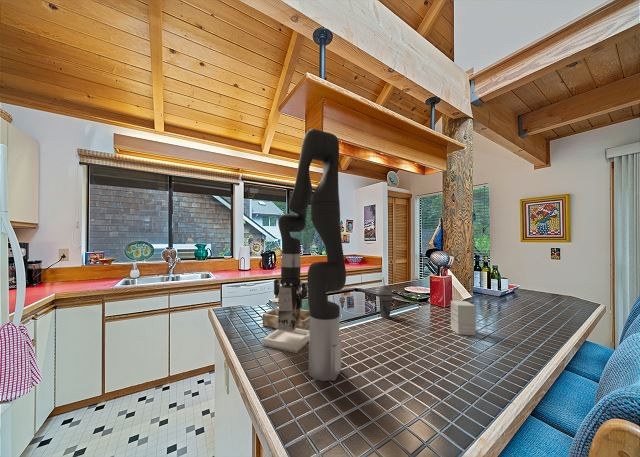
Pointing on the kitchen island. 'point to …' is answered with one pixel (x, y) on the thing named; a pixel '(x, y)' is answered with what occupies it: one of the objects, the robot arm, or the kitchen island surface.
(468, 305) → the supplement box
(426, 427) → the kitchen island surface
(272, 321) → the wooden holder
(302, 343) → the plastic tray
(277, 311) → the metal tin
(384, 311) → the beverage cup
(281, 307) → the coffee box
